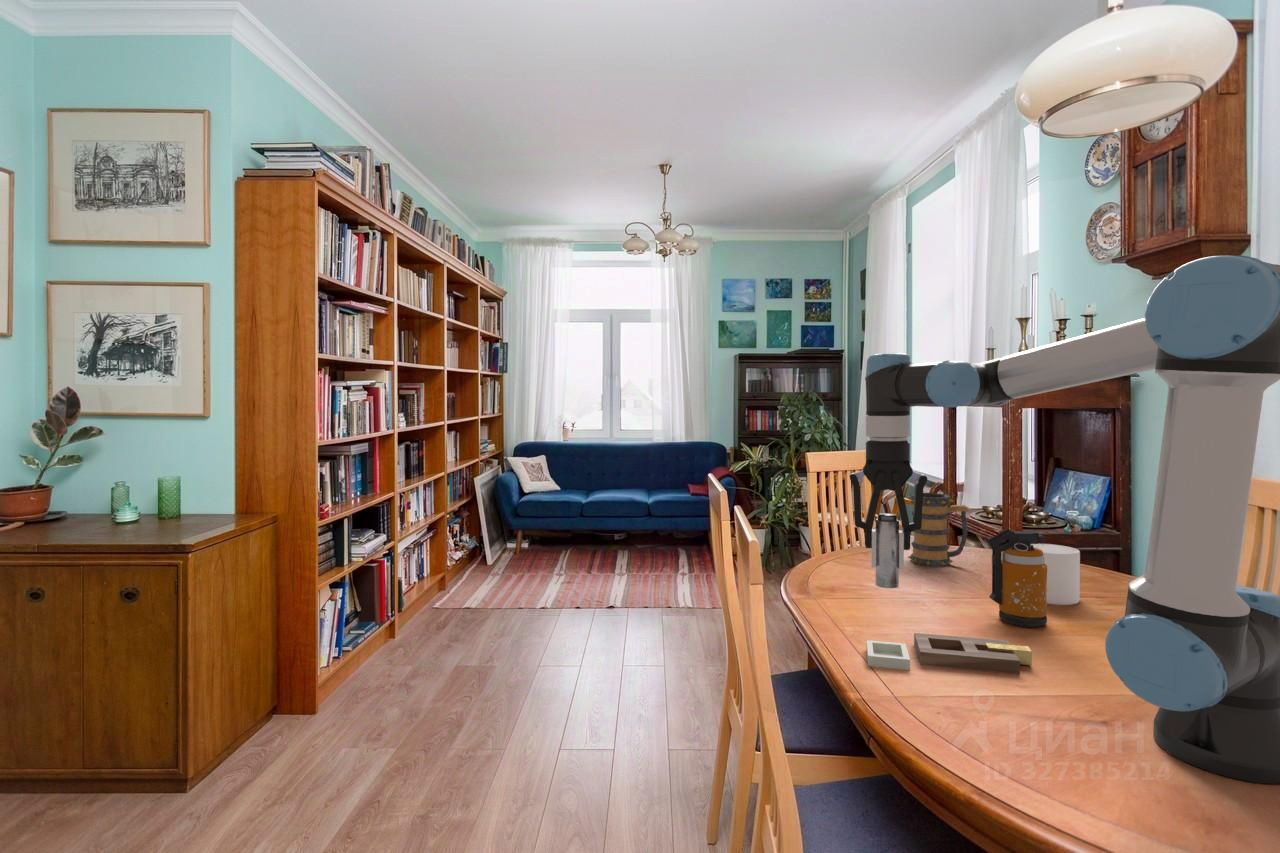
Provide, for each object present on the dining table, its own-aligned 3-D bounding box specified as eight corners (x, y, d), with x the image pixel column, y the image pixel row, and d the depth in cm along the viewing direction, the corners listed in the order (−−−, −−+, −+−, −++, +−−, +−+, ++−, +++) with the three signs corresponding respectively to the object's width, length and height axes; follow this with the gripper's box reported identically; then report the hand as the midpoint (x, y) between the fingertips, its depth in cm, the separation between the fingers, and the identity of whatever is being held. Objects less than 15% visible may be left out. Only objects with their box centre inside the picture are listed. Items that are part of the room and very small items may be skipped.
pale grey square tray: (910, 673, 117) (910, 659, 117) (868, 669, 119) (868, 655, 119) (905, 656, 125) (905, 643, 125) (866, 653, 127) (866, 640, 127)
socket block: (1019, 677, 115) (1019, 660, 115) (920, 668, 119) (920, 651, 119) (1005, 656, 124) (1005, 640, 124) (914, 648, 129) (914, 632, 129)
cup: (1031, 603, 156) (1031, 553, 155) (1016, 589, 167) (1016, 542, 167) (1087, 606, 153) (1088, 555, 153) (1068, 592, 164) (1068, 544, 164)
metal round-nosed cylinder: (899, 588, 119) (900, 517, 118) (876, 587, 120) (876, 516, 120) (897, 582, 123) (898, 513, 122) (874, 581, 124) (875, 512, 123)
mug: (909, 555, 205) (909, 491, 204) (971, 561, 196) (972, 494, 196) (903, 564, 193) (904, 496, 193) (969, 571, 185) (970, 500, 184)
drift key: (1031, 665, 118) (1032, 651, 117) (988, 661, 120) (988, 647, 119) (1028, 660, 120) (1028, 646, 120) (985, 656, 122) (985, 642, 122)
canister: (1053, 630, 138) (1054, 534, 137) (996, 627, 140) (996, 533, 139) (1037, 616, 147) (1038, 526, 146) (983, 613, 149) (983, 525, 148)
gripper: (935, 438, 121) (934, 564, 122) (838, 437, 126) (838, 558, 127) (941, 440, 114) (940, 574, 115) (838, 440, 119) (838, 568, 120)
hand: (887, 566), depth 121 cm, fingers closed on metal round-nosed cylinder, 4 cm apart
